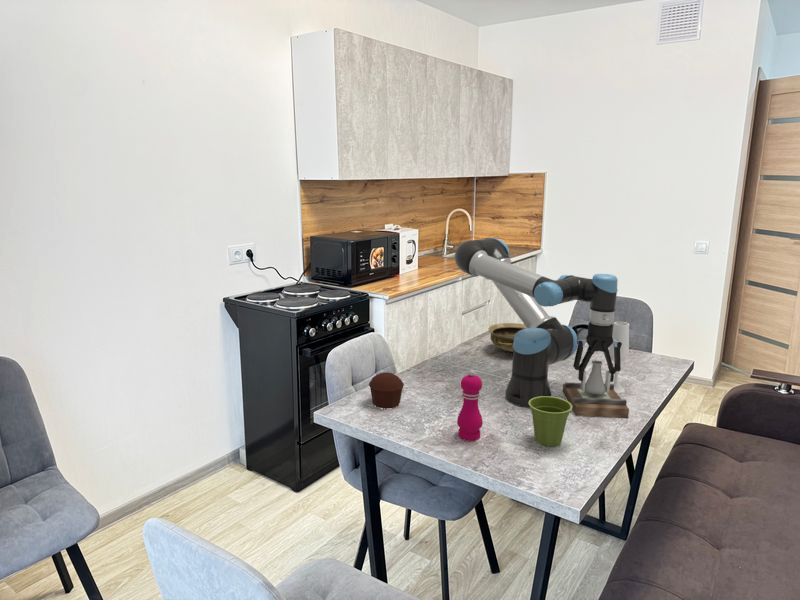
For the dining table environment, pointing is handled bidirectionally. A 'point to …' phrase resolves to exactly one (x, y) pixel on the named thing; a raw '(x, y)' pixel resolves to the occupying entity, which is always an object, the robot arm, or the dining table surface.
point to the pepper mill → (470, 408)
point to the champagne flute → (623, 336)
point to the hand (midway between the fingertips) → (594, 390)
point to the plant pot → (549, 419)
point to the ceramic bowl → (505, 335)
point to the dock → (595, 402)
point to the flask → (595, 380)
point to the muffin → (386, 390)
